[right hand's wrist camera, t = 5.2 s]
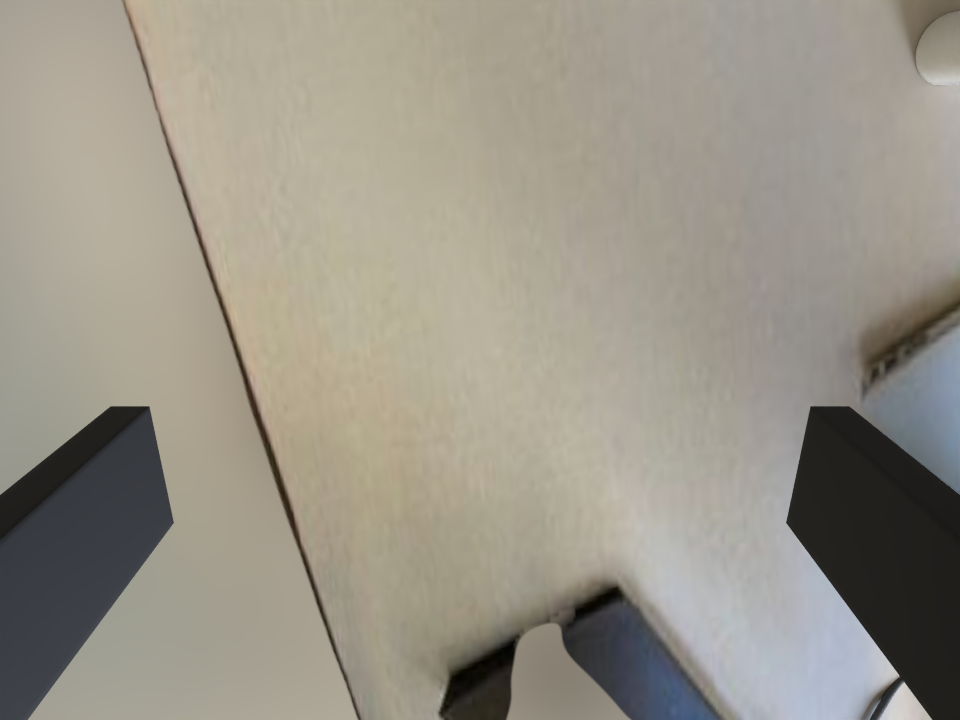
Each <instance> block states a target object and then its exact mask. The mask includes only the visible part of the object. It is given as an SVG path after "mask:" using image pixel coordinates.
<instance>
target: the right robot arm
mask: <svg viewBox="0 0 960 720" xmlns="http://www.w3.org/2000/svg"><path fill="white" fill-rule="evenodd" d="M173 523H174V522H173V517H172V512H171V508H170V503H169V498H168V493H167V489H166V484H165V479H164V474H163V469H162V465H161V460H160V455H159V450H158V446H157V441H156V436H155V431H154V426H153V422H152V417H151V412H150V407H147V406H145V407H144V406H141V407H140V406H139V407H138V406H134V407H132V406H131V407H130V406H129V407H128V406H125V407H124V406H122V407H121V406H119V407H118V406H115V407H114V406H112V407H110V408H108V409H107V410H106V411H104V412H103V413H102V414H101V415H100V416H98V417H97V418H96V419H95V420H93V421H92V422H91V423H90V424H88V425H87V426H86V427H85V428H83V429H82V430H81V431H80V432H78V433H77V434H76V435H75V436H73V437H72V438H71V439H70V440H68V441H67V442H66V443H65V444H63V445H62V446H61V447H60V448H58V449H57V450H56V451H55V452H53V453H52V454H51V455H50V456H48V457H47V458H46V459H45V460H43V461H42V462H41V463H40V464H38V465H37V466H36V467H35V468H34V469H32V470H31V471H30V472H28V473H27V474H26V475H25V476H23V477H22V478H21V479H20V480H18V481H17V482H16V483H15V484H13V485H12V486H11V487H10V488H9V489H7V490H6V491H5V492H4V493H2V494H1V495H0V720H28V718H29V717H30V716H31V714H32V713H33V712H34V710H35V709H36V708H37V706H38V705H39V704H40V702H41V701H42V700H43V698H44V697H45V696H46V694H47V693H48V691H49V690H50V689H51V687H52V686H53V685H54V683H55V682H56V681H57V679H58V678H59V677H60V675H61V674H62V673H63V671H64V670H65V669H66V667H67V666H68V665H69V663H70V662H71V661H72V659H73V658H74V656H75V655H76V654H77V652H78V651H79V650H80V648H81V647H82V646H83V644H84V643H85V642H86V640H87V639H88V638H89V636H90V635H91V634H92V632H93V631H94V630H95V628H96V627H97V626H98V624H99V623H100V621H101V620H102V619H103V617H104V616H105V615H106V613H107V612H108V611H109V609H110V608H111V607H112V605H113V604H114V603H115V601H116V600H117V599H118V597H119V596H120V595H121V593H122V592H123V590H124V589H125V588H126V586H127V585H128V584H129V582H130V581H131V580H132V578H133V577H134V576H135V574H136V573H137V572H138V570H139V569H140V568H141V566H142V565H143V563H144V562H145V561H146V559H147V558H148V557H149V555H150V554H151V553H152V551H153V550H154V549H155V547H156V546H157V545H158V543H159V542H160V541H161V539H162V538H163V537H164V535H165V534H166V533H167V531H168V530H169V529H170V527H171V526H172V524H173ZM786 523H787V524H788V526H789V527H790V529H791V530H792V531H793V533H794V534H795V535H796V537H797V538H798V539H799V541H800V542H801V543H802V545H803V546H804V547H805V549H806V550H807V551H808V553H809V554H810V555H811V557H812V558H813V560H814V561H815V562H816V564H817V565H818V566H819V568H820V569H821V570H822V572H823V573H824V574H825V576H826V577H827V578H828V580H829V581H830V582H831V584H832V585H833V586H834V588H835V589H836V590H837V592H838V593H839V595H840V596H841V597H842V599H843V600H844V601H845V603H846V604H847V605H848V607H849V608H850V609H851V611H852V612H853V613H854V615H855V616H856V617H857V619H858V620H859V621H860V623H861V624H862V626H863V627H864V628H865V630H866V631H867V632H868V634H869V635H870V636H871V638H872V639H873V640H874V642H875V643H876V644H877V646H878V647H879V648H880V650H881V651H882V652H883V654H884V655H885V656H886V658H887V659H888V661H889V662H890V663H891V665H892V666H893V667H894V669H895V670H896V671H897V673H898V674H899V675H900V677H901V678H902V679H903V681H904V682H905V683H906V685H907V686H908V687H909V689H910V690H911V692H912V693H913V694H914V696H915V697H916V698H917V700H918V701H919V702H920V704H921V705H922V706H923V708H924V709H925V710H926V712H927V713H928V714H929V716H930V717H931V718H932V720H960V495H959V494H958V493H956V492H955V491H954V490H953V489H951V488H950V487H949V486H948V485H947V484H945V483H944V482H943V481H942V480H940V479H939V478H938V477H937V476H935V475H934V474H933V473H932V472H930V471H929V470H928V469H927V468H925V467H924V466H923V465H922V464H920V463H919V462H918V461H917V460H915V459H914V458H913V457H912V456H910V455H909V454H908V453H907V452H905V451H904V450H903V449H902V448H900V447H899V446H898V445H897V444H895V443H894V442H893V441H892V440H890V439H889V438H888V437H887V436H885V435H884V434H883V433H882V432H880V431H879V430H878V429H877V428H875V427H874V426H873V425H872V424H870V423H869V422H868V421H867V420H865V419H864V418H863V417H862V416H860V415H859V414H858V413H857V412H855V411H854V410H853V409H852V408H851V407H849V406H811V407H810V412H809V417H808V422H807V426H806V431H805V436H804V441H803V446H802V450H801V455H800V460H799V465H798V469H797V474H796V479H795V484H794V489H793V493H792V498H791V503H790V508H789V512H788V517H787V522H786Z"/></svg>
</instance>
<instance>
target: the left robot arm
mask: <svg viewBox="0 0 960 720" xmlns="http://www.w3.org/2000/svg"><path fill="white" fill-rule="evenodd" d="M903 683H904V681H903V679H902V678H901V677H900V678H899V679H898V680H897V681H895V682H894V683H893V684H892V685H891V686H890V687H889V689H888V690H887V691H886V692H885V694H884V696H883V697H882V699H881V701H880V702H879V704H878V706H877V708H876V709H875V711H874V713H873V714H872V716H871V718H870V720H879V719H880V717H881V716H882V714H883V712H884V710H885V709H886V707H887V705H888V704H889V702H890V700H891V699H892V697H893V696H894V694H895V693H896V691H897V690H898V688H899V687H900V686H901V685H902V684H903Z"/></svg>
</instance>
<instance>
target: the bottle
mask: <svg viewBox="0 0 960 720" xmlns="http://www.w3.org/2000/svg"><path fill="white" fill-rule="evenodd" d="M916 66H917V69H918V71H919V73H920V75H921V76H922V77H923V78H924V79H925V80H926V81H927V82H929V83H931V84H935V85H957V84H960V11H955V12H951V13H947V14H945V15H943V16H941V17H939V18H938V19H936V20H935V21H934V22H933V23H932V24H930V26H929V27H928V28H927V29H926V30H925V32H924V33H923V35H922V36H921V38H920V40H919V43H918V46H917V49H916Z"/></svg>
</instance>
